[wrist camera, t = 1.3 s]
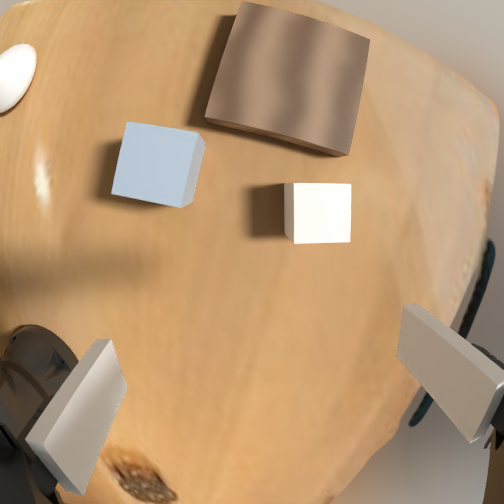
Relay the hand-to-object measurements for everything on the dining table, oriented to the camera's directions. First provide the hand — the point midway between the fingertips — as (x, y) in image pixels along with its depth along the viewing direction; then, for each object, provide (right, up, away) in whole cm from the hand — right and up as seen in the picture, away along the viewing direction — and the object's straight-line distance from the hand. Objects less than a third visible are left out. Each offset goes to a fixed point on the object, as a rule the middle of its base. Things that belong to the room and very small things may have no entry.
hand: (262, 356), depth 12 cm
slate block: (-10, +14, +21) cm, 27 cm away
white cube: (+6, +10, +23) cm, 26 cm away
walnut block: (+4, +25, +20) cm, 32 cm away
